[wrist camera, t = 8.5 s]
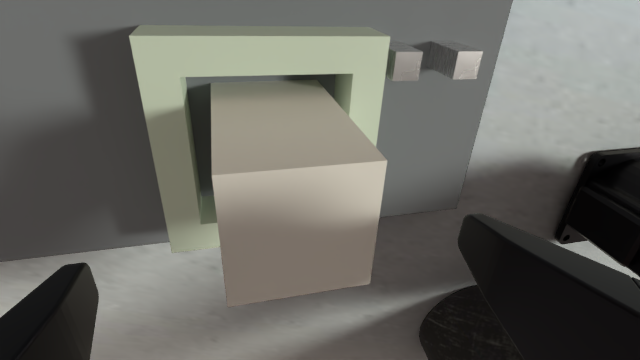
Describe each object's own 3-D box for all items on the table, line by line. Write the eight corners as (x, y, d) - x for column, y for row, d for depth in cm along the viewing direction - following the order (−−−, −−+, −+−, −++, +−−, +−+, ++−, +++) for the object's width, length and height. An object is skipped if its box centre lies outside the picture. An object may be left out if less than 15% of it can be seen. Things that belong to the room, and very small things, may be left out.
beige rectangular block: (316, 79, 15) (387, 160, 9) (313, 169, 17) (369, 283, 11) (210, 82, 14) (212, 175, 8) (220, 177, 16) (227, 307, 10)
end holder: (369, 27, 14) (390, 36, 13) (351, 204, 18) (365, 229, 17) (139, 24, 12) (128, 35, 11) (175, 222, 16) (171, 252, 15)
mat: (555, -235, 12) (580, -249, 12) (446, 198, 21) (456, 208, 20) (-378, -428, 7) (-453, -478, 6) (-22, 249, 16) (-34, 265, 15)
